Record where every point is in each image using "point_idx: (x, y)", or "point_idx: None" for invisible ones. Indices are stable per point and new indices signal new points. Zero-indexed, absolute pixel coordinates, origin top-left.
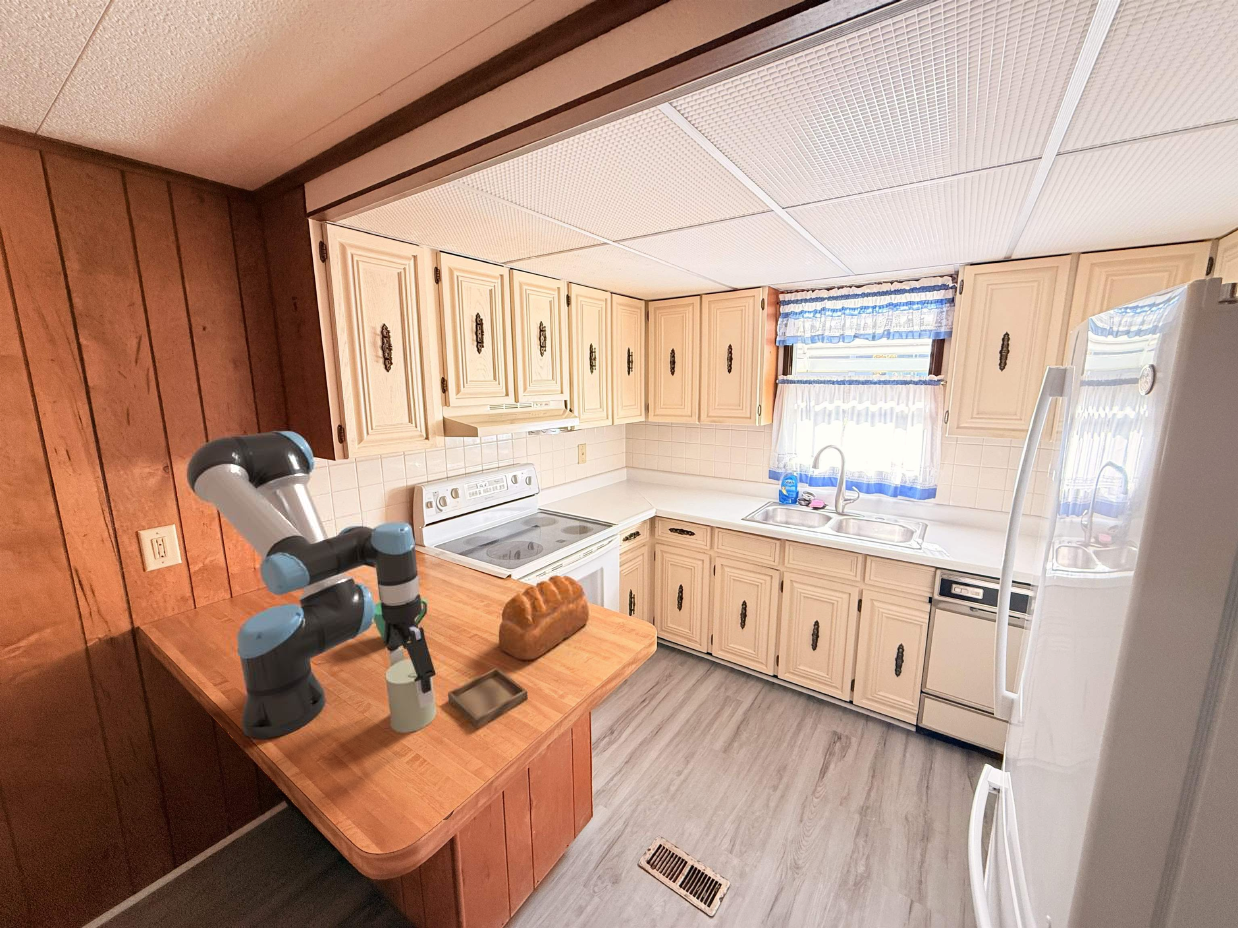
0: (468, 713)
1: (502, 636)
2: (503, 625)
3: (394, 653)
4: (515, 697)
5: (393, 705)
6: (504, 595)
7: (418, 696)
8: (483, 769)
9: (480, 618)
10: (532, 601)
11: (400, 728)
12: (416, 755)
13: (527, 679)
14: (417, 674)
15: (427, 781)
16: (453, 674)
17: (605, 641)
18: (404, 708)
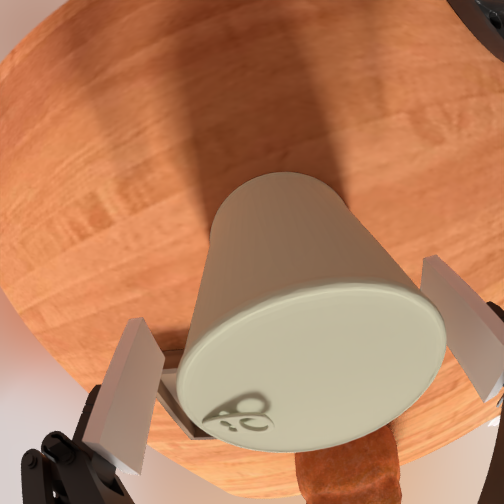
0: (175, 365)
1: (373, 451)
2: (377, 473)
3: (496, 365)
4: (180, 427)
5: (251, 219)
6: (482, 413)
7: (119, 356)
8: (39, 321)
9: None
10: None
11: (230, 199)
12: (106, 220)
13: None
14: (72, 468)
15: (29, 230)
16: None
17: (266, 485)
18: (209, 255)
